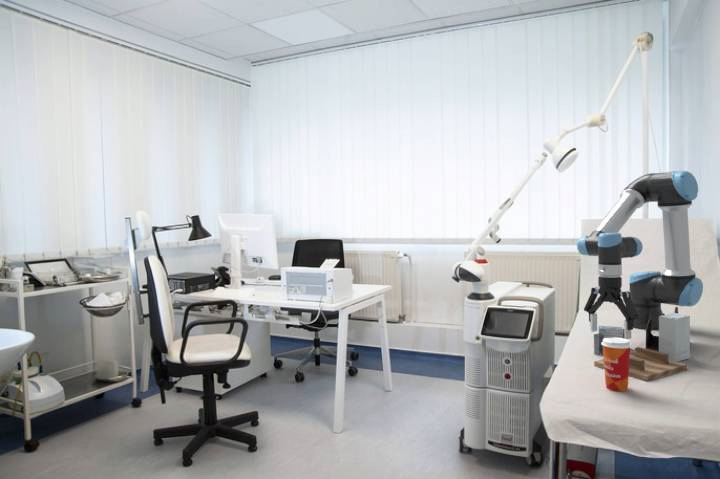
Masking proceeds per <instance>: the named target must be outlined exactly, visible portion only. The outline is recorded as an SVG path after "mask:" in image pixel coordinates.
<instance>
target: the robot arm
mask: <svg viewBox="0 0 720 479" xmlns="http://www.w3.org/2000/svg"><path fill="white" fill-rule="evenodd" d="M698 194H699V186H698V181H697V179H696V176H694V175H693V174H692V173H691V172H690V171H688V170H675V171H666V172H655V173H654V172H653V173H647V174H644V175H641V176H640V177H638V178H636V179H635V180H633V181H632V182H630V183H629V184H628V185H627V186H626V187H625V188H624V189H623V190H622V191H621V193H620V195H619V199H618V200H617V202H615V204H614V205H613V206H612V208H611V209H610V210H609V211H608V213H607V214H606V215H605V216H604V217H603V219H602V220H601V221H600V222H599V224H598V225H597V226H596V227H595V229H594V230H593V231H592V232H591V234H590V235H583V236H580V237H579V238H578V240H577V243H576V248H577V249H576V250H577V251H578V253H579V254H581V255H583V256H587V257H598V259H597V261H598V264H597V266H598V268H597V269H598V271H597V272H598V279H597V280H598V282H597V283H598V286H595V287H592V288H591V289H590V294H589V297H588V299H587V301H586V304H585V306H584V308H583V311H584V312H587V313H588V322H589V323H590V332H591V333H595V332H597V331H598V313H597V310H599V308H600V307H601V306H603V304H604V302H605V303H607V302H608V303H610V304H614V305H615V306H617V308H618V310H619V311H620V312H621V314H622V315H623V317H624V318H625V320H624V321H623V324H624V325H623V329H624V339H627V340H630V339H632V330H634V328H635V329H641V330H642V329H644V330H646V327H647V324H648V321H649V319H652V324H651V330H659V316H662V314H663V313H664V312H663V310H662V304H663V305H664V304H665V305H671V306H677V307H678V306H679V307H694V306H696V305H697V304H698V303H699V302H700V299H701V297H702V295H703V292H704V290H703V289H704V283H703V281H702V279H701V278H698V277H697V276H696V271H695V270H693V269H692V268H691V266H692V265H691V250H690V247H691V246H690V231H689V228H690V227H689V214H688V212H689V210H688V209H689V208H690V207H691V206H692V205H693V203H692V202H693V201H694V200H696V199H697V197H698ZM652 202H653V203H654V202H657V207H658V209H660V210H661V212H662V227H663V229H662V230H663V246H664V262H665V264H664V265H665V268H664V270H663V271H659V270H655V271H641V272H640V271H639V272H633V273H631V274H630V276H629V282H628V285H629V290H627V291H622V287H623V283H622V282H623V280H622V279H623V278H622V277H621V276H622V275H623V269H622V268H623V266H622V265H623V264H622V263H623V262H622V259H625V258H626V259H627V258H628V259H629V258H631V259H632V258H634V257H637V256H639V255H640V254H641V253H642V251H643V247H644V246H643V243H642V241H641V240H640V239H639V238H638V237H635V236H622V234H621V233H620V230H621V229H622V228H623V227H624V226H625V224H626V223H627V222H628V221H629V219H631V217H632V216H633V214H634V213H636V211H637V209H640V208H642V207H643V206H644V205H645V204H647V203H652ZM598 295H599V296H598Z"/></svg>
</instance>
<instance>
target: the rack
mask: <svg viewBox="0 0 720 479" xmlns="http://www.w3.org/2000/svg"><path fill="white" fill-rule="evenodd" d="M603 339H604V336H603V334H599V333H595V334H593V350H594V351H593V354H594V355H596V354H598V355H597V356H601V355H600V354H602V355H603V345H602V344H601V343H602V342H603ZM623 339H624V328H623Z"/></svg>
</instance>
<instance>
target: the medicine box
mask: <svg viewBox="0 0 720 479" xmlns="http://www.w3.org/2000/svg"><path fill="white" fill-rule="evenodd" d="M623 329H624V327H623V326H611V325H610V326H609V325H607V326H606V325H599V326H598V334H603V336H604V338H613V337H616V338H623Z"/></svg>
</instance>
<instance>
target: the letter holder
mask: <svg viewBox="0 0 720 479" xmlns="http://www.w3.org/2000/svg"><path fill="white" fill-rule="evenodd" d="M673 313H678V314H679V307H678V306H675V308H674V312H673ZM663 315H666V314H665V313H664V312H663V314H662V316H663ZM651 324H652V319H649V321H648V324H647V327H646V329H645V347H644V348H645V349H650V350H654V351H658V352H659V335H654V334H653V333H652V329H651Z"/></svg>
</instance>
